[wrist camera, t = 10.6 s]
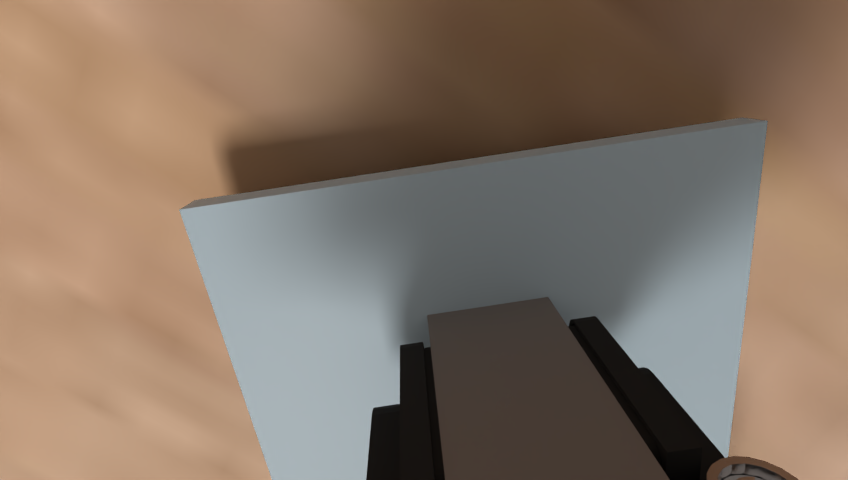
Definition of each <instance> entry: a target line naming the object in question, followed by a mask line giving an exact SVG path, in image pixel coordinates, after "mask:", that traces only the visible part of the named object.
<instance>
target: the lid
mask: <svg viewBox="0 0 848 480" xmlns="http://www.w3.org/2000/svg"><path fill="white" fill-rule="evenodd" d="M767 122H768V121H765V120H757V119H749V118H736V119H729V120H722V121H716V122H709V123H703V124H696V125H689V126H683V127H676V128H669V129H663V130H656V131H650V132H643V133H636V134H630V135H623V136H617V137H610V138H603V139H597V140H590V141H584V142H577V143H570V144H564V145H557V146H551V147H544V148H537V149H531V150H524V151H517V152H511V153H504V154H498V155H491V156H484V157H478V158H471V159H465V160H458V161H451V162H445V163H438V164H432V165H425V166H418V167H412V168H405V169H399V170H392V171H385V172H379V173H372V174H365V175H359V176H352V177H346V178H339V179H332V180H326V181H319V182H313V183H306V184H299V185H293V186H286V187H280V188H273V189H266V190H260V191H253V192H247V193H240V194H233V195H227V196H220V197H213V198H207V199H200V200H195V201H193V202H191V203H190V204H188V205H186V206H185V207H183V208H181V209H180V210H179V211H180V214H181V216H182V219H183V222H184V225H185V228H186V231H187V234H188V237H189V240H190V243H191V245H192V248H193V251H194V254H195V257H196V260H197V263H198V266H199V269H200V272H201V275H202V277H203V280H204V283H205V286H206V289H207V292H208V295H209V298H210V301H211V304H212V307H213V309H214V312H215V315H216V318H217V321H218V324H219V327H220V330H221V333H222V336H223V338H224V341H225V344H226V347H227V350H228V353H229V356H230V359H231V362H232V365H233V368H234V370H235V373H236V376H237V379H238V382H239V385H240V388H241V391H242V394H243V397H244V399H245V402H246V405H247V408H248V411H249V414H250V417H251V420H252V423H253V426H254V429H255V431H256V434H257V437H258V440H259V443H260V446H261V449H262V452H263V455H264V458H265V461H266V463H267V466H268V469H269V472H270V475H271V478H272V480H366V477H367V465H368V453H369V441H370V430H371V418H372V410H373V408H375V407H381V406H388V405H395V404H400V345H405V344H411V343H418V342H423V344H424V348H427V347H431V355H432V365H433V374H434V383H435V392H436V401H437V410H438V419H439V429H440V438H441V447H442V456H443V465H444V474H445V480H670V479H669V478H668V476H667V475H666V473H665V472H664V470H663V469H662V467H661V466H660V464H659V463H658V461H657V460H656V458H655V457H654V455H653V454H652V452H651V451H650V449H649V448H648V446H647V445H646V443H645V442H644V440H643V439H642V437H641V436H640V434H639V433H638V431H637V430H636V428H635V427H634V425H633V424H632V422H631V421H630V419H629V418H628V416H627V415H626V413H625V412H624V410H623V409H622V407H621V406H620V404H619V403H618V401H617V400H616V398H615V397H614V395H613V394H612V392H611V391H610V389H609V388H608V386H607V385H606V383H605V382H604V380H603V379H602V377H601V376H600V374H599V373H598V371H597V370H596V368H595V367H594V365H593V364H592V362H591V361H590V359H589V358H588V356H587V355H586V353H585V352H584V350H583V349H582V347H581V346H580V344H579V343H578V341H577V340H576V338H575V337H574V335H573V334H572V332H571V331H570V329H569V328H568V326H569V323H570V320H571V319H578V318H585V317H591V316H596V317H597V318H598V319H599V320H600V322H601V323H602V324H603V325H604V327H605V328H606V329H607V330H608V331H609V333H610V334H611V335H612V336H613V338H614V339H615V340H616V341H617V343H618V344H619V345H620V346H621V348H622V349H623V350H624V351H625V352H626V354H627V355H628V356H629V357H630V359H631V360H632V361H633V362H634V364H635V365H636V366H637V367H638V368H642V367H645V368H648V369H649V370H650V371H652V372H653V373H654V375H655V376H656V377H657V378H658V379H659V380H660V382H661V383H662V384H663V385H664V386H665V388H666V389H667V390H668V391H669V392H670V393H671V395H672V396H673V397H674V398H675V399H676V400H677V402H678V403H679V404H680V405H681V406H682V408H683V409H684V410H685V411H686V412H687V413H688V415H689V416H690V417H691V418H692V419H693V420H694V422H695V423H696V424H697V425H698V426H699V428H700V429H701V430H702V431H703V432H704V433H705V435H706V436H707V437H708V438H709V439H710V441H711V442H712V443H713V444H714V445H715V446H716V448H717V449H718V450H719V451H720V452H721V453H722V455H723V456H724V457H725V458H727V457H728V452H729V444H730V435H731V427H732V418H733V410H734V402H735V393H736V385H737V376H738V368H739V359H740V351H741V342H742V334H743V325H744V317H745V308H746V300H747V291H748V283H749V274H750V266H751V257H752V249H753V240H754V232H755V224H756V215H757V207H758V198H759V190H760V181H761V173H762V164H763V156H764V147H765V139H766V130H767Z"/></svg>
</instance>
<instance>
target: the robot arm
mask: <svg viewBox="0 0 848 480" xmlns="http://www.w3.org/2000/svg"><path fill="white" fill-rule="evenodd" d="M568 328H569V329H570V331H571V332H572V334H573V335H574V337H575V338H576V340H577V341H578V343H579V344H580V346H581V347H582V349H583V350H584V352H585V353H586V355H587V356H588V358H589V359H590V361H591V362H592V364H593V365H594V367H595V368H596V370H597V371H598V373H599V374H600V376H601V377H602V379H603V380H604V382H605V383H606V385H607V386H608V388H609V389H610V391H611V392H612V394H613V395H614V397H615V398H616V400H617V401H618V403H619V404H620V406H621V407H622V409H623V410H624V412H625V413H626V415H627V416H628V418H629V419H630V421H631V422H632V424H633V425H634V427H635V428H636V430H637V431H638V433H639V434H640V436H641V437H642V439H643V440H644V442H645V443H646V445H647V446H648V448H649V449H650V451H651V452H652V454H653V455H654V457H655V458H656V460H657V461H658V463H659V464H660V466H661V467H662V469H663V470H664V472H665V473H666V475H667V476H668V478H669V479H670V480H798V479H797V478H796V477H794V476H793V475H791V474H790V473H788V472H786V471H785V470H783V469H782V468H780V467H777V466H775V465H773V464H770V463H768V462H766V461H762V460H758V459H754V458H750V457H738V456H732V457H727V458H725V457H724V456H723V455H722V453H721V452H720V451H719V450H718V449H717V448H716V446H715V445H714V444H713V443H712V442H711V441H710V439H709V438H708V437H707V436H706V435H705V433H704V432H703V431H702V430H701V429H700V428H699V426H698V425H697V424H696V423H695V422H694V420H693V419H692V418H691V417H690V416H689V415H688V413H687V412H686V411H685V410H684V409H683V408H682V406H681V405H680V404H679V403H678V402H677V400H676V399H675V398H674V397H673V396H672V395H671V393H670V392H669V391H668V390H667V389H666V388H665V386H664V385H663V384H662V383H661V382H660V380H659V379H658V378H657V377H656V376H655V375H654V373H653V372H652V371H650V370H649V369H648V368H645V367H642V368H638V367H637V366H636V365H635V364H634V362H633V361H632V360H631V359H630V357H629V356H628V355H627V354H626V352H625V351H624V350H623V349H622V348H621V346H620V345H619V344H618V343H617V341H616V340H615V339H614V338H613V336H612V335H611V334H610V333H609V331H608V330H607V329H606V328H605V327H604V325H603V324H602V323H601V322H600V320H599V319H598V318H597V317H596V316H591V317H585V318H578V319H571V320H570V323H569V326H568ZM366 480H445V474H444V465H443V456H442V447H441V438H440V429H439V419H438V410H437V401H436V392H435V383H434V374H433V365H432V355H431V347H427V348H424V344H423V342H418V343H411V344H405V345H400V404H395V405H388V406H381V407H375V408H373V410H372V418H371V430H370V441H369V453H368V465H367V477H366Z"/></svg>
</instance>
